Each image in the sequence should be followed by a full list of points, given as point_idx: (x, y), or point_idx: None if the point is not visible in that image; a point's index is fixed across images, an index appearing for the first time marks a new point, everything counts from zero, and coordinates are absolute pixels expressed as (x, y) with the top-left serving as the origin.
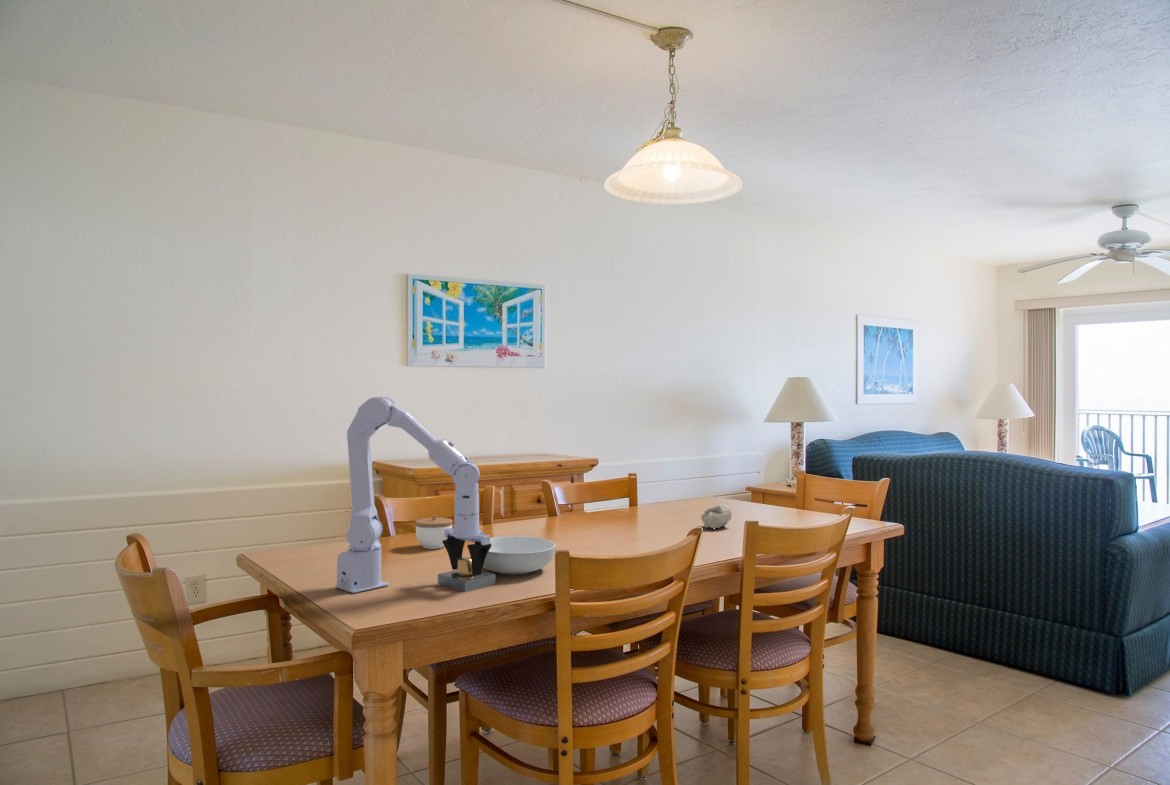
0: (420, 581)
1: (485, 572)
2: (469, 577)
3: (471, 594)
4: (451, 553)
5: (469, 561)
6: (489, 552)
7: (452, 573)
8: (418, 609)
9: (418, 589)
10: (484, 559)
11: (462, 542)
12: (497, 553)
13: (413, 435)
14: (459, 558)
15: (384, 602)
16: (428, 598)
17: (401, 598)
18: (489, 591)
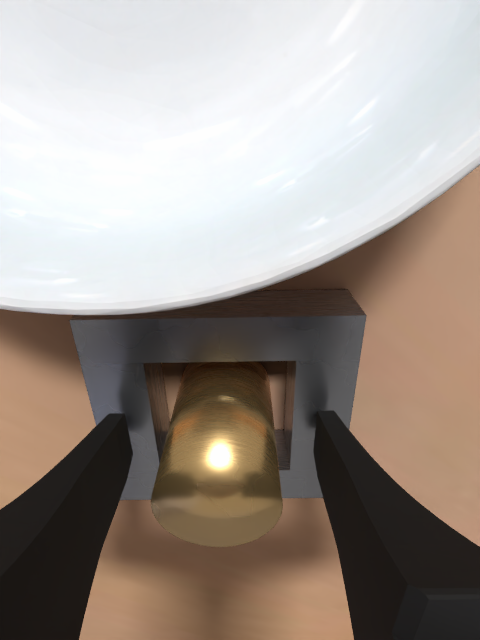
0: (31, 473)
1: (278, 330)
2: (297, 450)
3: (379, 458)
4: (95, 570)
5: (279, 512)
6: (209, 300)
7: (154, 456)
8: None
9: (151, 529)
10: (389, 480)
11: (23, 586)
12: (314, 265)
13: None
14: (166, 521)
15: (220, 628)
16: (286, 558)
17: (218, 595)
18: (416, 389)
